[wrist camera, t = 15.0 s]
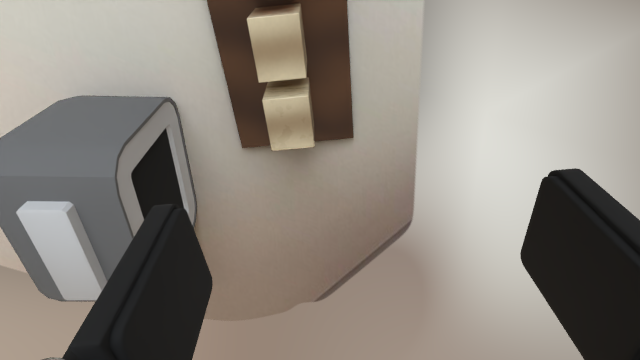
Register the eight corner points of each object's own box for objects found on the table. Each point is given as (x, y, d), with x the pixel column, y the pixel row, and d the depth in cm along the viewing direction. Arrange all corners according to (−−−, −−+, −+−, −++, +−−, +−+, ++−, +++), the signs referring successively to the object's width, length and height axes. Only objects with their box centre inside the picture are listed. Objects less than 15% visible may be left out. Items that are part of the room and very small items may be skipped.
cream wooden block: (255, 7, 32) (246, 18, 27) (300, 3, 32) (298, 12, 27) (265, 65, 34) (258, 82, 30) (307, 61, 34) (306, 78, 30)
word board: (183, -110, 28) (179, -112, 27) (339, -128, 28) (340, -131, 27) (243, 143, 40) (242, 148, 39) (352, 133, 40) (353, 138, 39)
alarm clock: (199, 215, 46) (154, 325, 33) (107, 214, 45) (24, 325, 32) (174, 88, 36) (97, 171, 24) (58, 86, 36) (-84, 169, 23)
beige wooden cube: (267, 81, 35) (261, 100, 31) (308, 77, 35) (308, 95, 31) (276, 127, 38) (271, 151, 34) (314, 124, 38) (314, 147, 34)
